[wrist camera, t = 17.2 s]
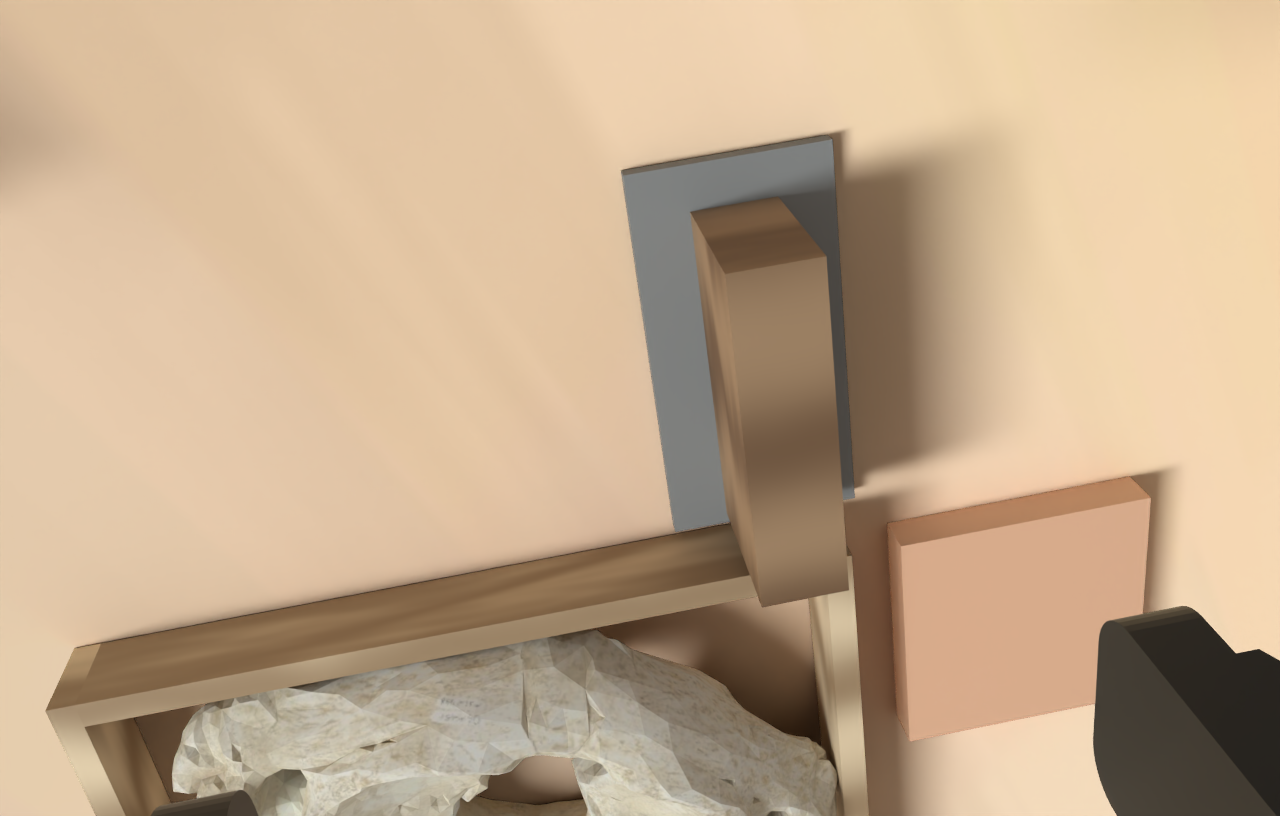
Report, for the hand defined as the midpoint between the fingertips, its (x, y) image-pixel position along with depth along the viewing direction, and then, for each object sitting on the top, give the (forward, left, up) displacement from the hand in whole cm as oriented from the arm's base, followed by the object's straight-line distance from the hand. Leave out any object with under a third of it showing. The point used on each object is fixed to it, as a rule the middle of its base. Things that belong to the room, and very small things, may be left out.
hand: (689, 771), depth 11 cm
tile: (+19, +16, -29) cm, 38 cm away
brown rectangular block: (+11, +6, -30) cm, 32 cm away
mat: (+10, +6, -30) cm, 32 cm away
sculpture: (+26, -5, -30) cm, 40 cm away
